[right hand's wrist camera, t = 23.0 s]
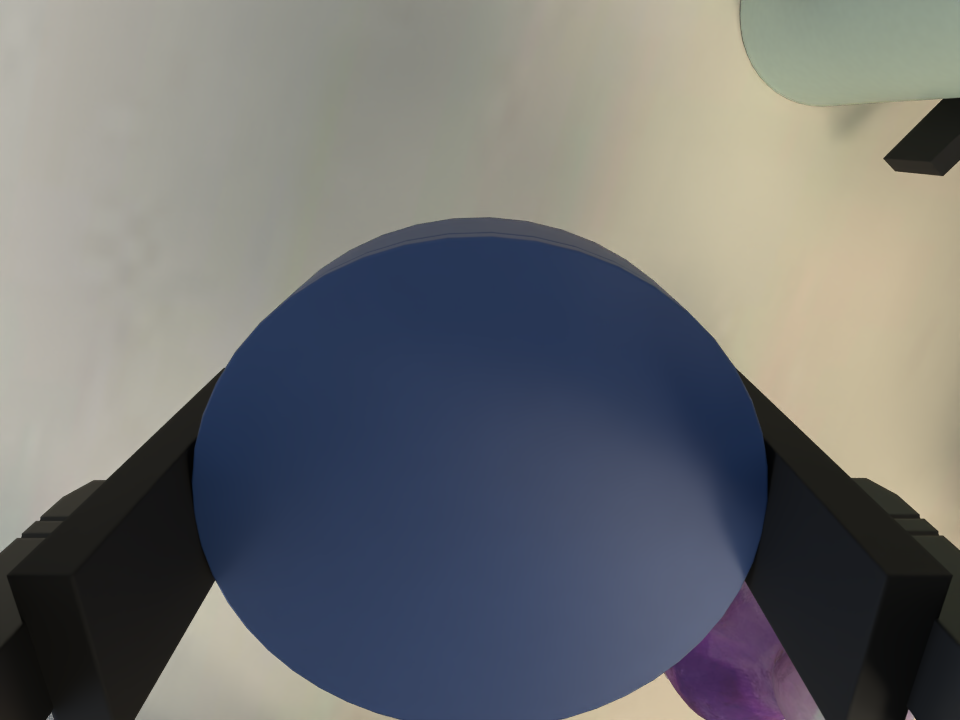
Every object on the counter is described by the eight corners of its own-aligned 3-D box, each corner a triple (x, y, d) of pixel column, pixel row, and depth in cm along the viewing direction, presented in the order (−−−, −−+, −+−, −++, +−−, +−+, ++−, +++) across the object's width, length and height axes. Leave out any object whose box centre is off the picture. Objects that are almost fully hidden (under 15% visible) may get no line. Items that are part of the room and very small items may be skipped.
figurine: (797, 493, 35) (1011, 737, 21) (805, 632, 39) (994, 921, 24) (630, 525, 36) (730, 782, 22) (653, 659, 39) (752, 955, 25)
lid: (159, 527, 13) (105, 596, 11) (385, 101, 10) (363, 96, 8) (544, 708, 14) (554, 794, 13) (829, 392, 12) (895, 443, 10)
